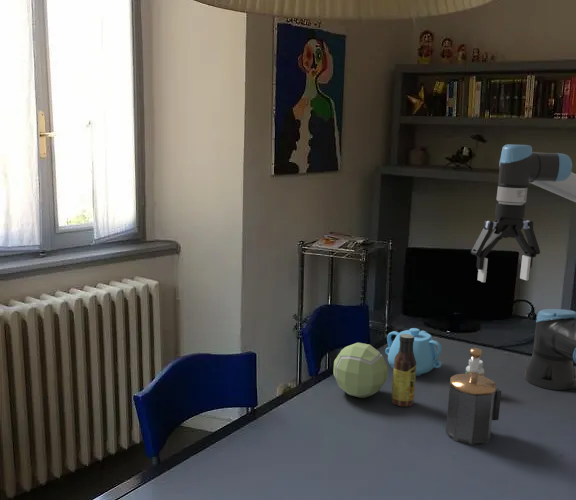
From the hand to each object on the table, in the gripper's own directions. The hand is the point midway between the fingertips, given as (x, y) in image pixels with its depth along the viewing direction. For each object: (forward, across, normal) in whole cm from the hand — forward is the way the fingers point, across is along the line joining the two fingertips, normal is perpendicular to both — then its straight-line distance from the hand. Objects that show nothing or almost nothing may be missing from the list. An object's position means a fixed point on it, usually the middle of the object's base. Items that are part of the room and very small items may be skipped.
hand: (502, 280), depth 174 cm
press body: (+37, -15, -14) cm, 42 cm away
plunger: (+35, -16, -14) cm, 41 cm away
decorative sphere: (+37, -34, +15) cm, 52 cm away
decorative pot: (+37, -9, +30) cm, 48 cm away
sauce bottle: (+37, -24, +7) cm, 45 cm away
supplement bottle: (+37, +1, +10) cm, 38 cm away
